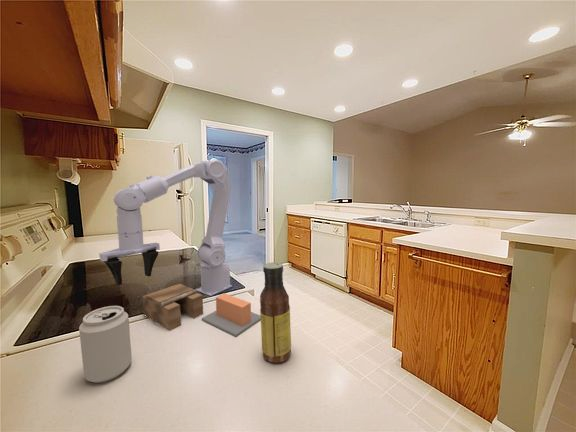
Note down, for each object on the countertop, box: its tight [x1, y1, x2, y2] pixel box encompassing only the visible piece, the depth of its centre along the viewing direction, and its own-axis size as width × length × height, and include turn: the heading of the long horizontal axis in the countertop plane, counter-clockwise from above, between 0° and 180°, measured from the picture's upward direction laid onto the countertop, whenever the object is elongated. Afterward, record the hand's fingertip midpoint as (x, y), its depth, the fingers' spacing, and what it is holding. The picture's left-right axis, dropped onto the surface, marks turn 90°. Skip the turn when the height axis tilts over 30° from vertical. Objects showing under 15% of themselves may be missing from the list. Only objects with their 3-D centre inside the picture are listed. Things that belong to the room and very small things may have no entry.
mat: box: [201, 310, 261, 338], centre depth 66 cm, size 10×13×1 cm
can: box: [78, 305, 133, 384], centre depth 47 cm, size 8×8×12 cm
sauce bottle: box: [259, 261, 292, 364], centre depth 51 cm, size 7×6×20 cm
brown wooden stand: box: [142, 283, 204, 331], centre depth 68 cm, size 13×10×6 cm
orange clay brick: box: [215, 292, 252, 326], centre depth 66 cm, size 10×3×5 cm, turn 56°
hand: (134, 279), depth 69 cm, fingers open, 7 cm apart
